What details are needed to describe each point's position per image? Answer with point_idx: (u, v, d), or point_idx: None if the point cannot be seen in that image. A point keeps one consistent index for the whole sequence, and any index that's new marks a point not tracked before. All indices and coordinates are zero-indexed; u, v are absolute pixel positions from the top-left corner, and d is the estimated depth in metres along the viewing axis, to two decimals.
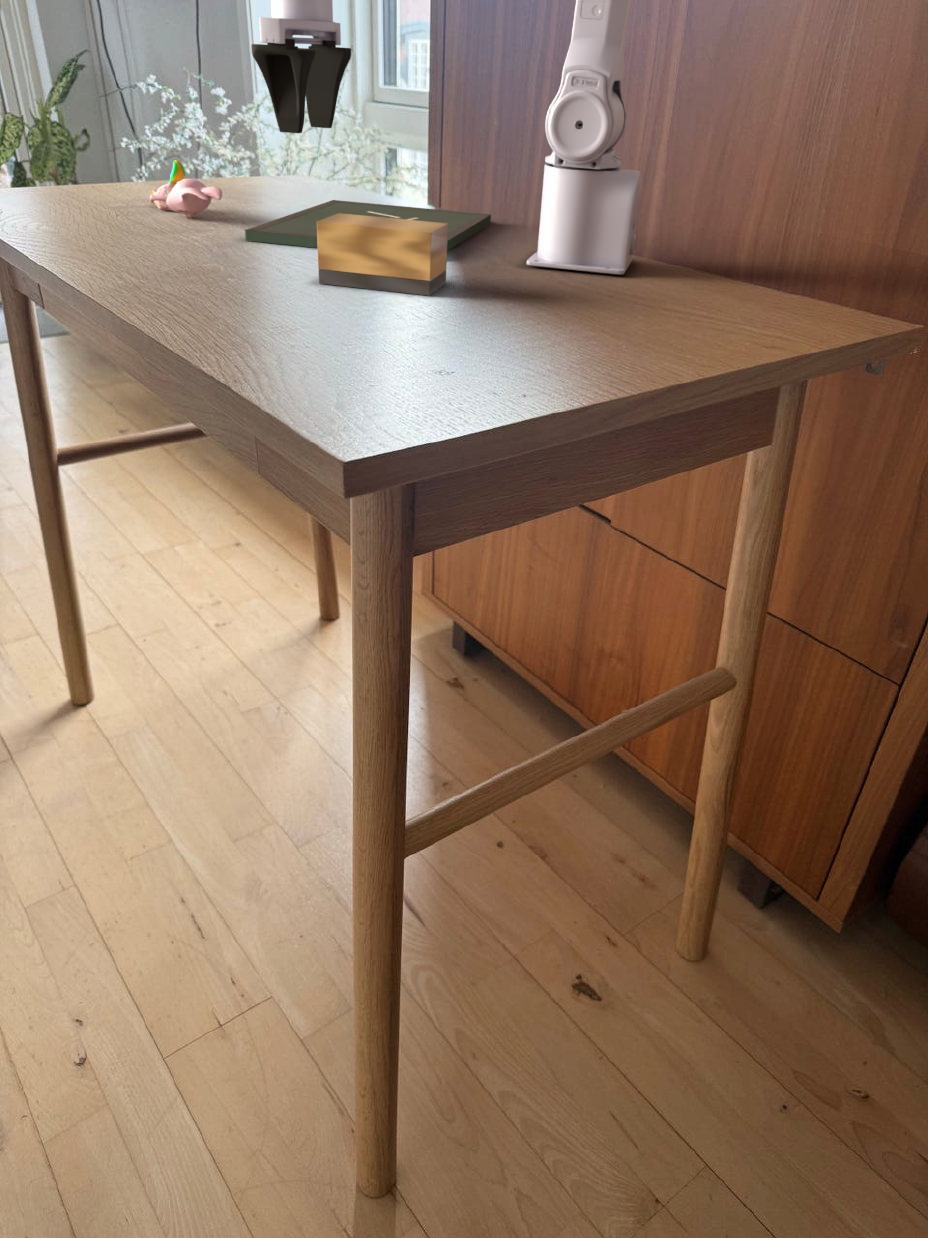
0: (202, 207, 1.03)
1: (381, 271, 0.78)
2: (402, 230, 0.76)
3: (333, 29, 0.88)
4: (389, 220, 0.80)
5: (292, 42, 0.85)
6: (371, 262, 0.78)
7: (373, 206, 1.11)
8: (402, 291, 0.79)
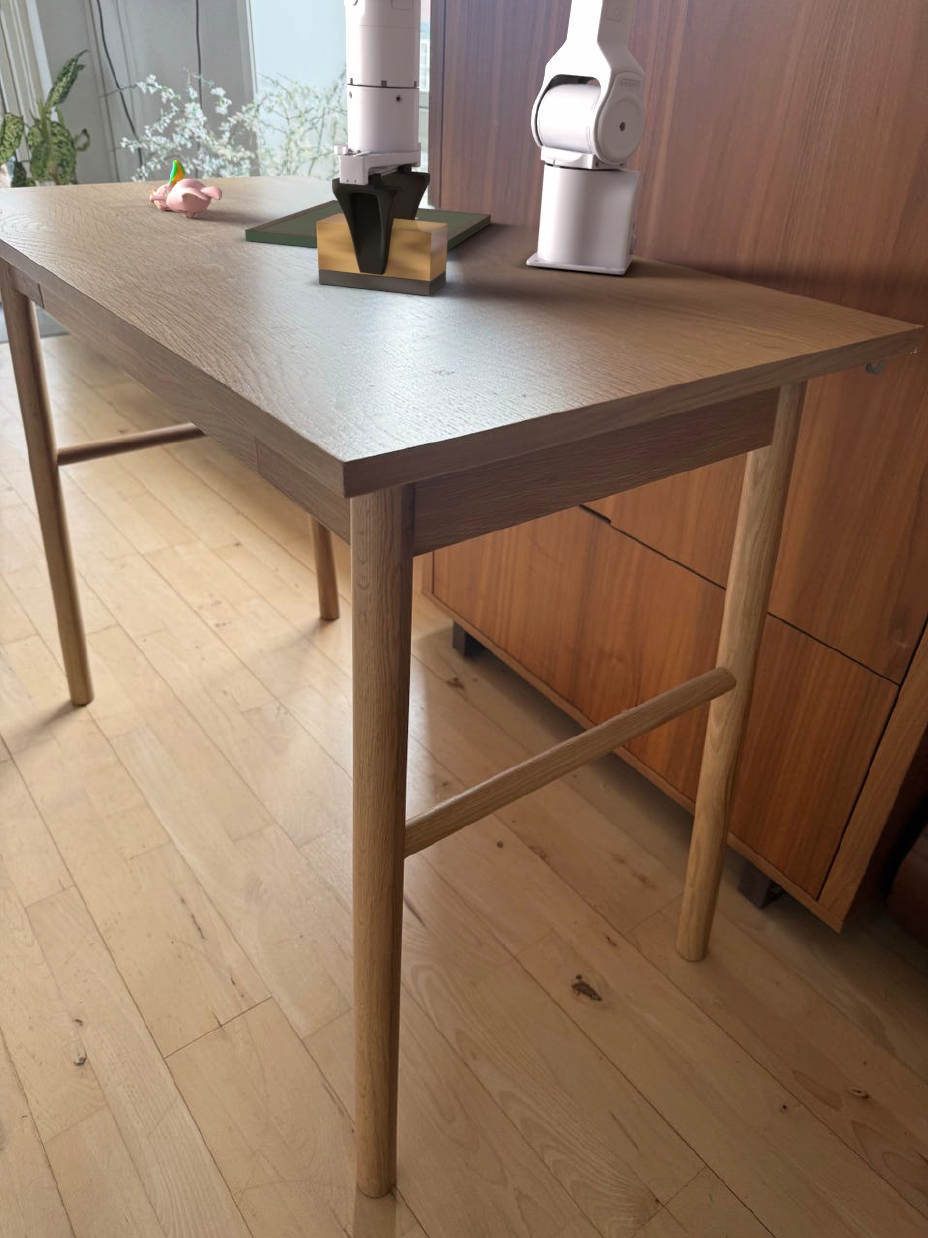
0: (202, 207, 1.03)
1: None
2: (402, 230, 0.76)
3: (419, 159, 0.76)
4: None
5: (378, 178, 0.74)
6: None
7: None
8: (402, 291, 0.79)
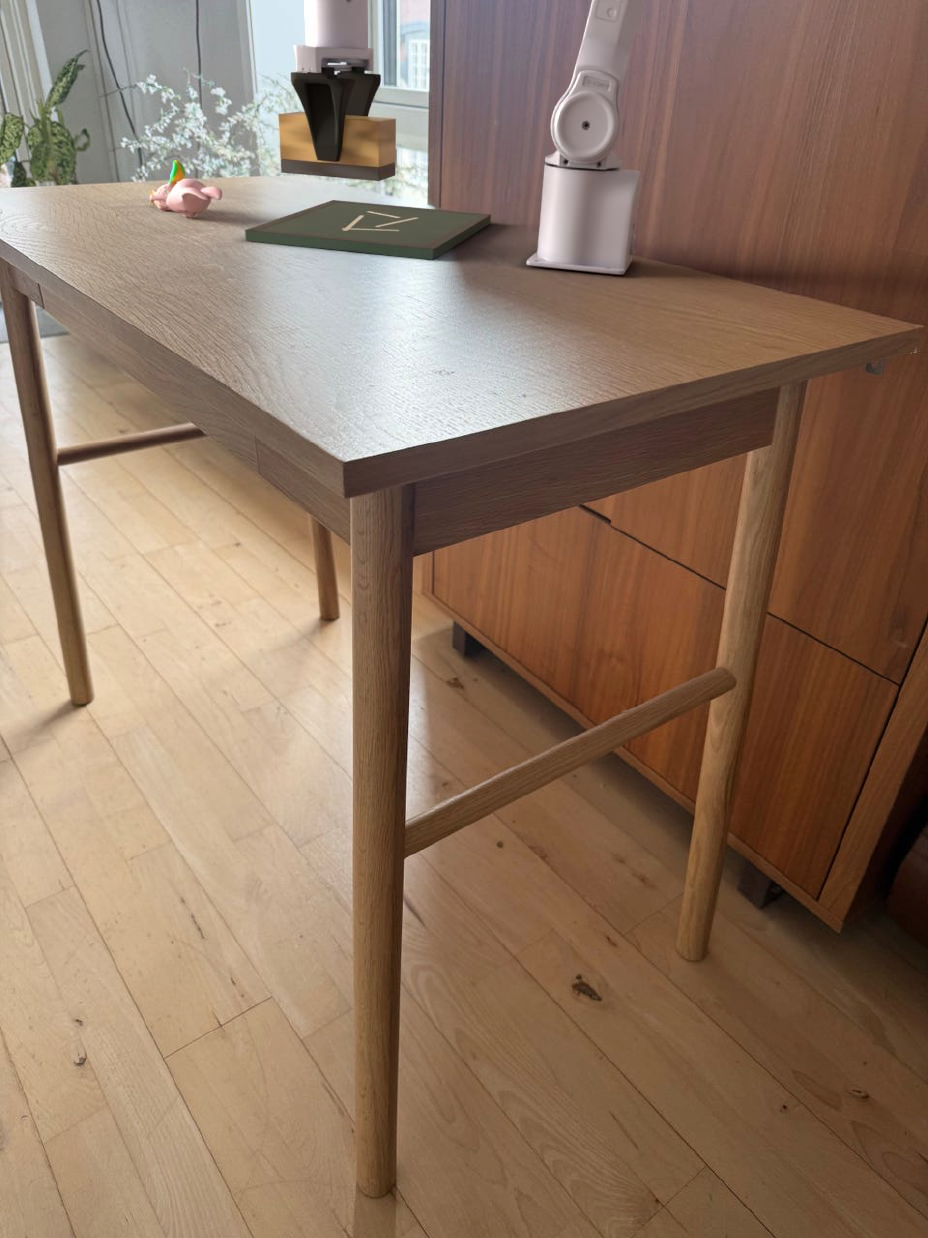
0: (202, 207, 1.03)
1: None
2: (353, 120, 0.86)
3: (368, 56, 0.85)
4: None
5: (331, 70, 0.83)
6: None
7: (373, 206, 1.11)
8: (354, 177, 0.88)
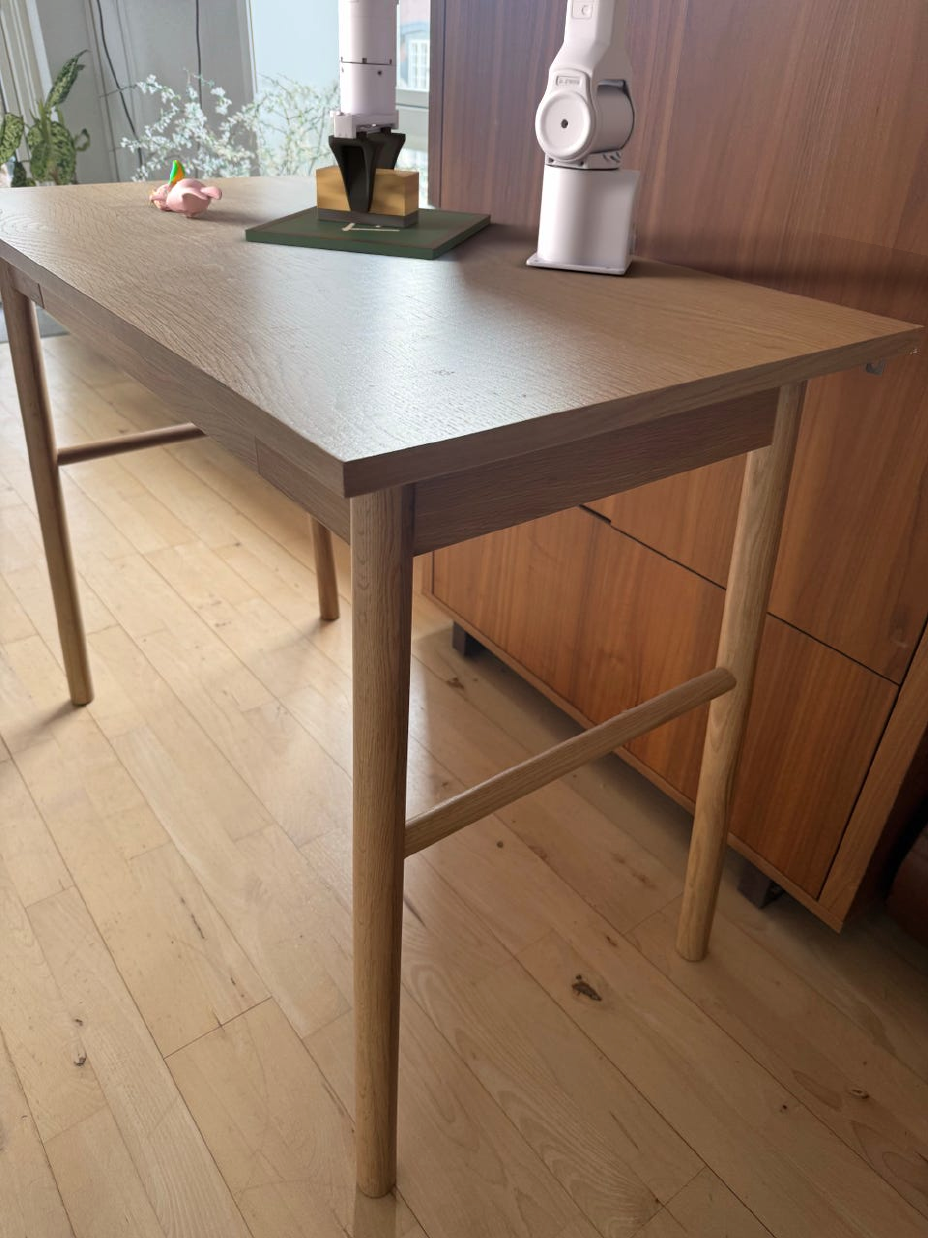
0: (202, 207, 1.03)
1: None
2: (382, 175, 0.97)
3: (396, 120, 0.97)
4: None
5: (364, 134, 0.95)
6: None
7: None
8: (383, 224, 1.00)
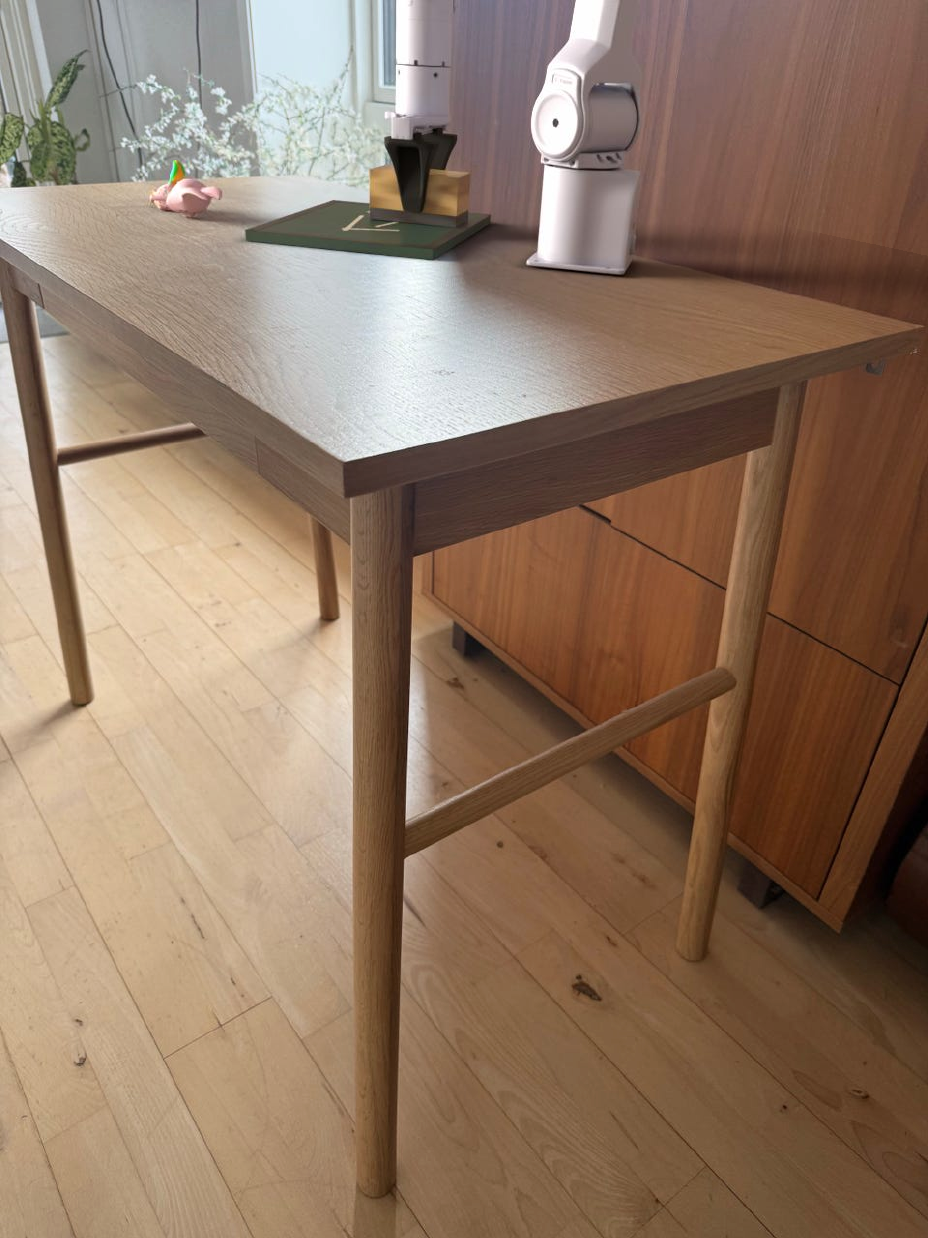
0: (202, 207, 1.03)
1: None
2: (436, 176, 0.99)
3: (450, 122, 0.99)
4: None
5: (420, 135, 0.97)
6: None
7: None
8: (435, 224, 1.02)
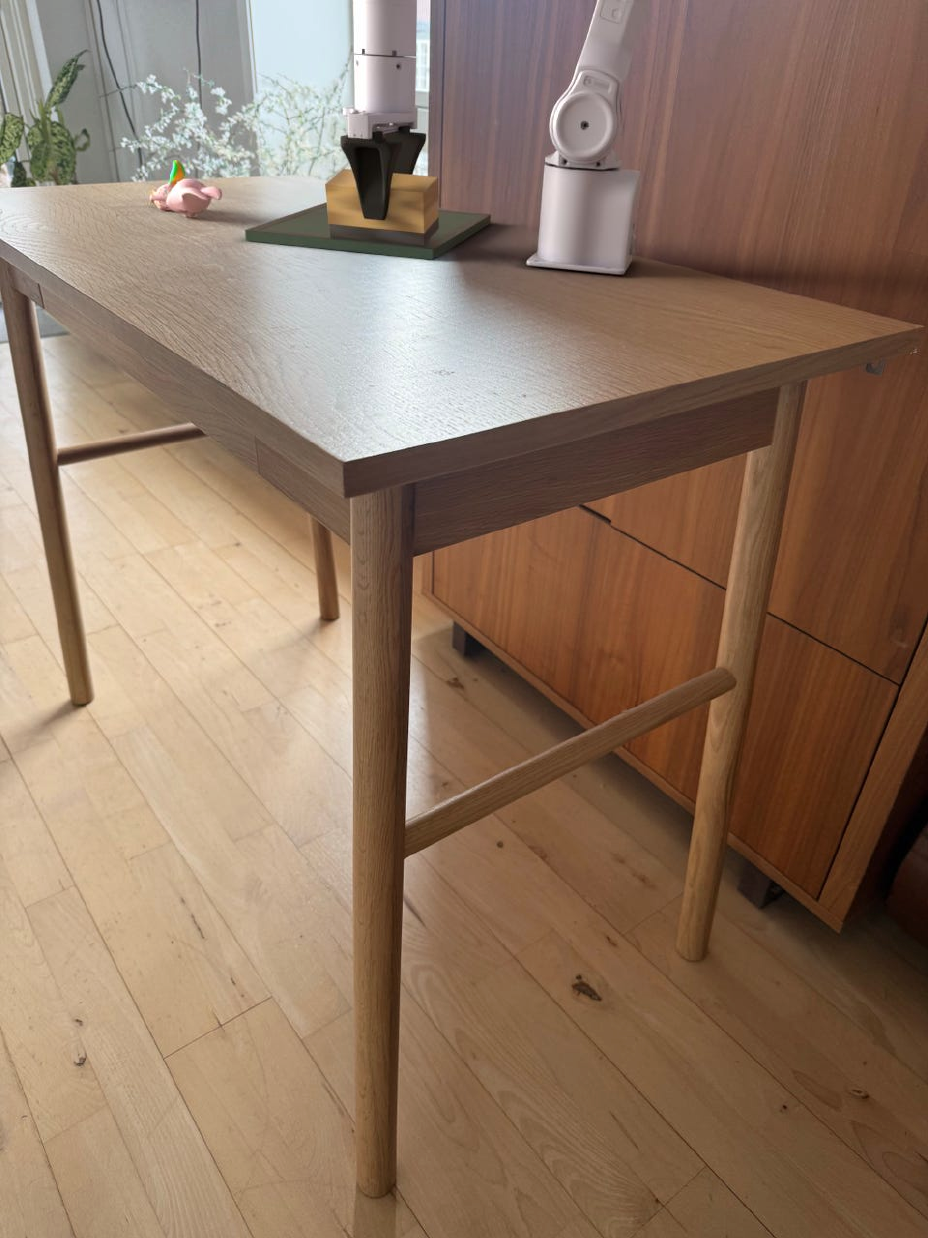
0: (202, 207, 1.03)
1: (382, 225, 0.91)
2: (398, 191, 0.89)
3: (416, 119, 0.88)
4: None
5: (380, 134, 0.86)
6: None
7: None
8: (401, 242, 0.92)
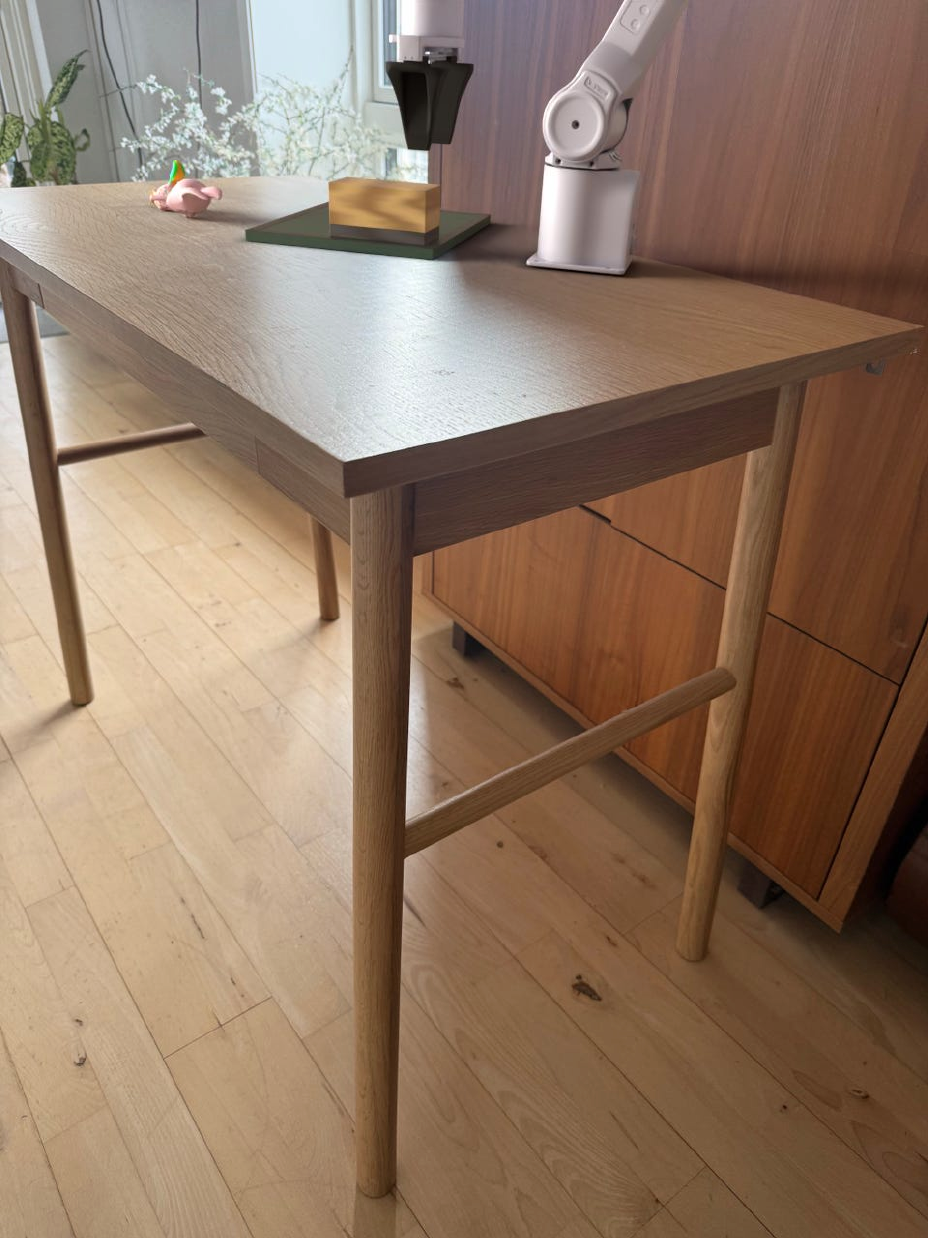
0: (202, 207, 1.03)
1: (383, 225, 0.92)
2: (401, 189, 0.89)
3: (463, 45, 0.87)
4: (390, 182, 0.93)
5: (426, 59, 0.84)
6: (375, 217, 0.91)
7: None
8: (401, 242, 0.92)
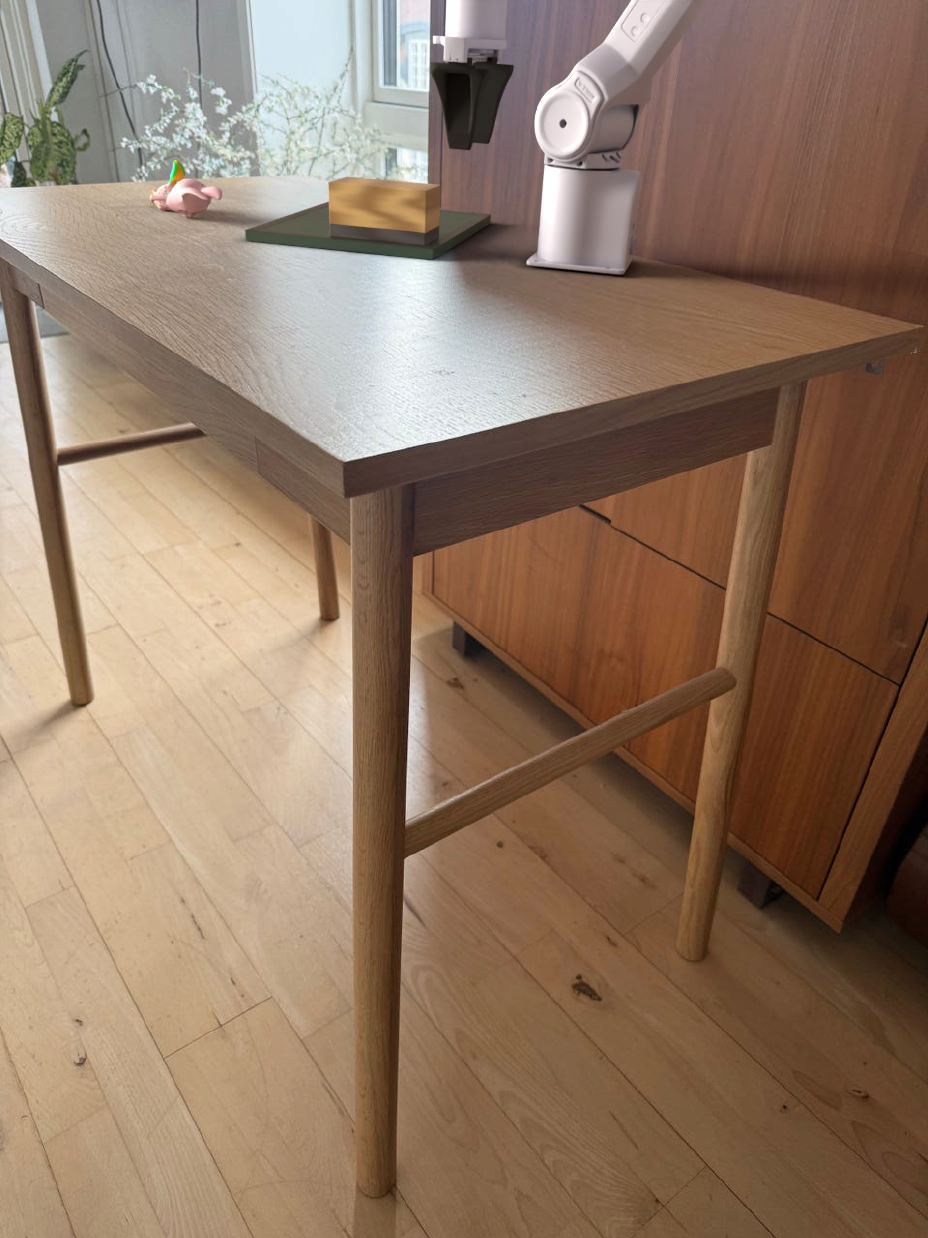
0: (202, 207, 1.03)
1: (383, 225, 0.92)
2: (401, 189, 0.89)
3: (506, 47, 0.88)
4: (390, 182, 0.93)
5: (470, 61, 0.86)
6: (375, 217, 0.91)
7: None
8: (401, 242, 0.92)
